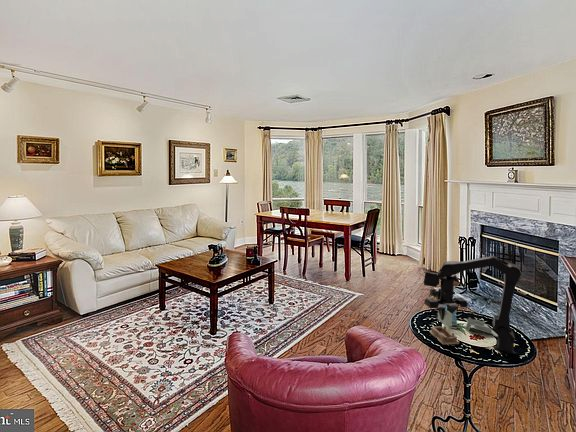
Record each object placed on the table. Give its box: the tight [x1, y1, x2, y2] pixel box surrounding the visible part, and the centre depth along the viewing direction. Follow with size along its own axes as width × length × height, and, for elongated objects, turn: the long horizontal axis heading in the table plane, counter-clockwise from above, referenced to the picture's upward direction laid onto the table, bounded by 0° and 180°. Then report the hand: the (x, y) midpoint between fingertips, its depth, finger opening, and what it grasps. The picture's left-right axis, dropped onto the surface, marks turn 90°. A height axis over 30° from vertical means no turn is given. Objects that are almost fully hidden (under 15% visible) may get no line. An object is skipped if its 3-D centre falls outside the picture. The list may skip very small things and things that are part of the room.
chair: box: [440, 305, 458, 324], centre depth 185 cm, size 8×8×12 cm
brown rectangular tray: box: [429, 325, 460, 345], centre depth 166 cm, size 12×8×4 cm, turn 6°
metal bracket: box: [464, 317, 498, 338], centre depth 175 cm, size 14×6×15 cm
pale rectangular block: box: [437, 309, 453, 327], centre depth 165 cm, size 8×2×6 cm, turn 6°
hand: (444, 319), depth 165 cm, fingers closed on pale rectangular block, 2 cm apart
